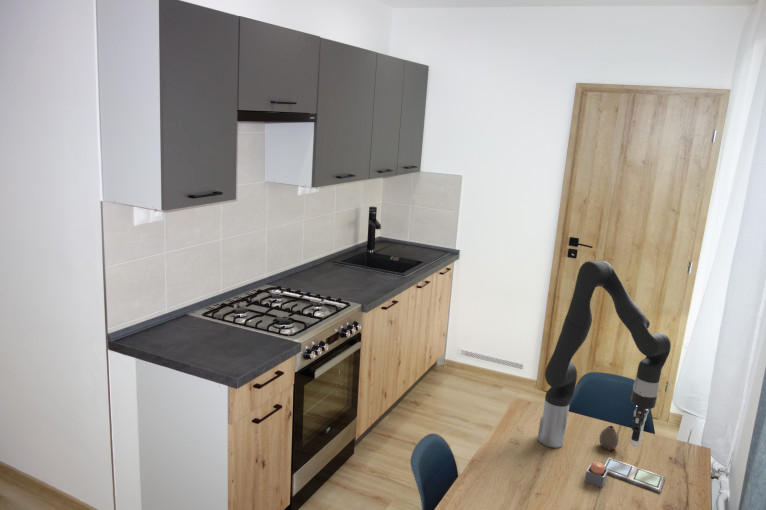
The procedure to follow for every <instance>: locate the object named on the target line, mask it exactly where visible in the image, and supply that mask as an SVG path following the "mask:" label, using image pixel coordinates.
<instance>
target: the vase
mask: <svg viewBox="0 0 766 510" xmlns="http://www.w3.org/2000/svg"><path fill="white" fill-rule="evenodd" d="M619 440H620V439H619V434H618V433H617V431H616V429H615V426H613V425H607V427H606V428H604V429H602V431H601V432H600V434H599V444H600V446H601V447H602V448H603V449H604V450H607V451H612V450H614V449H616V448H617V447H618V445H619Z"/></svg>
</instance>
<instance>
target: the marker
mask: <svg viewBox="0 0 766 510" xmlns="http://www.w3.org/2000/svg"><path fill="white" fill-rule="evenodd" d="M645 420H646V421H647V418H645ZM642 421H643V420H642ZM646 421H645V422H646ZM645 422H644V425H643V426H642V428H641V432H640V436H639V440H638V441H634V440H632V439H631V438H632V433H633V430H632V429H631V435H630V441H629V444H630V445H632V446H634V447H640V446H641V441H642V437H643V434H644V428H645V427H644V426H645ZM635 427H636V426H635Z"/></svg>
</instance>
